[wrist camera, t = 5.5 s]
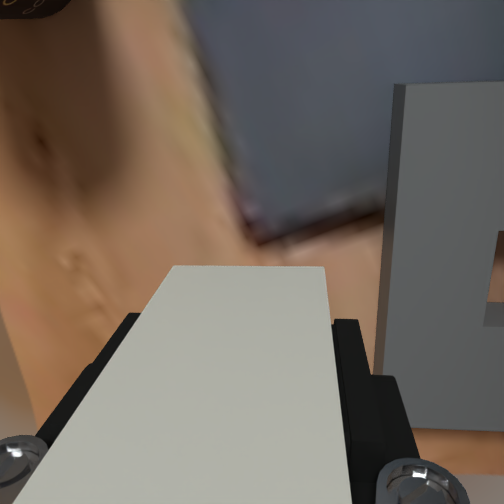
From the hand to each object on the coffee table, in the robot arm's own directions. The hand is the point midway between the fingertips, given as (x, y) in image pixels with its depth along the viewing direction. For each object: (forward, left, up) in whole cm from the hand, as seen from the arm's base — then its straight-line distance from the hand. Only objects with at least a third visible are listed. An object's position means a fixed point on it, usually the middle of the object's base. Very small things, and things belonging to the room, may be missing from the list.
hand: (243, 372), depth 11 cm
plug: (0, 0, -2) cm, 2 cm away
